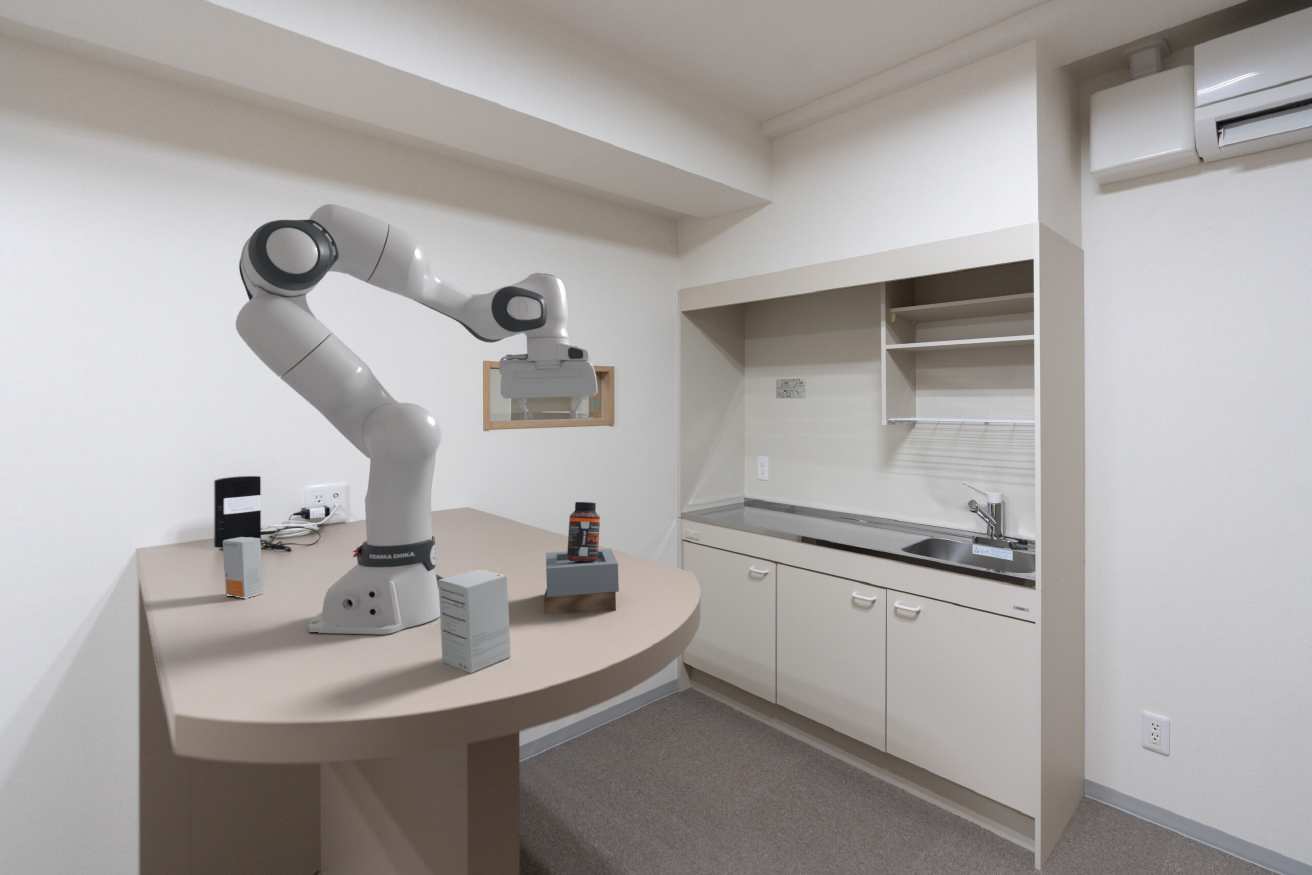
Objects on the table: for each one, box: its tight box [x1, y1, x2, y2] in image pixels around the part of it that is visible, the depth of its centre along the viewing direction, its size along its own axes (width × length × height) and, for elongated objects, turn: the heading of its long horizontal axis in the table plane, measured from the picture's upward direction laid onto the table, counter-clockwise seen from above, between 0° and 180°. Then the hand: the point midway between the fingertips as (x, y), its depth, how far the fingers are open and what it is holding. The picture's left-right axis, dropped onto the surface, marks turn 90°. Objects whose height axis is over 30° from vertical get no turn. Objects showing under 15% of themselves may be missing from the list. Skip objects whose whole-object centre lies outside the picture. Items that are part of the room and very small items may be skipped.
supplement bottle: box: [567, 501, 601, 562], centre depth 121 cm, size 6×6×11 cm
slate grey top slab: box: [545, 548, 620, 597], centre depth 120 cm, size 13×13×5 cm
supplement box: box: [437, 568, 512, 674], centre depth 93 cm, size 7×7×13 cm
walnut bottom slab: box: [543, 588, 617, 615], centre depth 121 cm, size 13×13×4 cm
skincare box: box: [222, 536, 264, 597], centre depth 131 cm, size 6×4×12 cm
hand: (550, 419), depth 132 cm, fingers open, 8 cm apart
